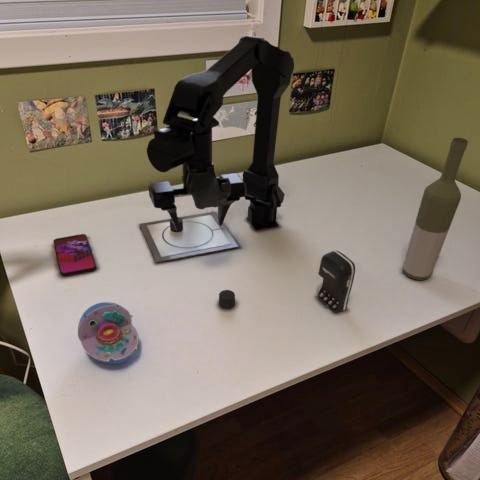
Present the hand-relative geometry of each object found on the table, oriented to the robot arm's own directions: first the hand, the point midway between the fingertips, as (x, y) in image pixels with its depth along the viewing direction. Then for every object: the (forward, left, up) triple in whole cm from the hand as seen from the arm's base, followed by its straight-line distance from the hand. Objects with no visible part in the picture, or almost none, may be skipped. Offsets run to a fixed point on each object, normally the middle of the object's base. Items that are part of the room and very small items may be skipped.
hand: (199, 228), depth 98 cm
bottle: (-45, +18, -11) cm, 50 cm away
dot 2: (-1, +14, -10) cm, 17 cm away
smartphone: (+26, -14, -10) cm, 31 cm away
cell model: (+23, +20, -11) cm, 32 cm away
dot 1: (+1, -17, -10) cm, 20 cm away
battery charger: (-21, +21, -11) cm, 31 cm away
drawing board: (-1, -14, -10) cm, 18 cm away
